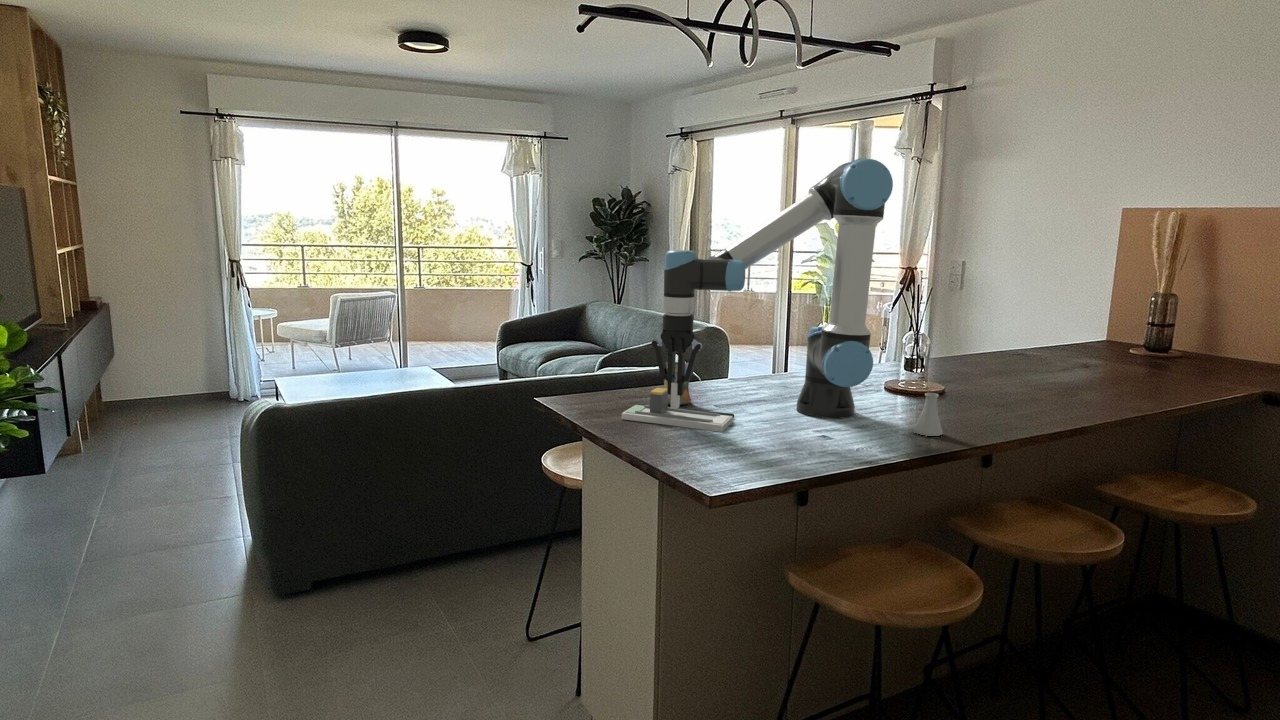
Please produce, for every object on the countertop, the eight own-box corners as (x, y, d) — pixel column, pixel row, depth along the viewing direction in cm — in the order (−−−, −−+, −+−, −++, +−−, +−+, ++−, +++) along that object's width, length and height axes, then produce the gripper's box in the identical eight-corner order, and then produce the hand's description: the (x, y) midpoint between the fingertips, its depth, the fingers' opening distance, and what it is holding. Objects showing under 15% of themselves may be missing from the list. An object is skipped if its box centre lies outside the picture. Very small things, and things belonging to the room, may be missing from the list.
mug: (697, 406, 208) (699, 367, 206) (664, 407, 206) (666, 368, 204) (682, 396, 219) (684, 359, 218) (651, 397, 217) (652, 360, 215)
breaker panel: (732, 422, 193) (732, 413, 192) (722, 431, 184) (722, 423, 183) (635, 410, 202) (635, 402, 201) (621, 419, 192) (621, 410, 192)
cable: (734, 418, 197) (734, 413, 197) (733, 419, 196) (734, 414, 195) (647, 409, 203) (647, 404, 203) (646, 410, 202) (646, 405, 202)
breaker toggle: (667, 410, 196) (668, 388, 195) (661, 414, 191) (661, 392, 190) (656, 408, 197) (657, 387, 196) (649, 413, 192) (650, 391, 191)
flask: (940, 440, 182) (944, 399, 181) (909, 434, 186) (912, 394, 184) (946, 433, 188) (950, 393, 187) (915, 428, 192) (919, 389, 190)
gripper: (708, 314, 189) (704, 407, 193) (658, 310, 194) (655, 401, 198) (699, 317, 182) (695, 413, 187) (648, 313, 187) (645, 408, 191)
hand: (675, 407), depth 192 cm, fingers closed
